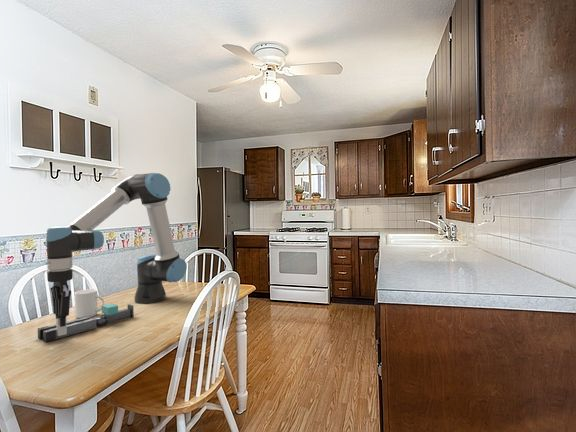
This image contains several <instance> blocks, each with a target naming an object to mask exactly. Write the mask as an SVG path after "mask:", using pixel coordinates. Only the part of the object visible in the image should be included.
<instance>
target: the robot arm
mask: <svg viewBox="0 0 576 432" xmlns="http://www.w3.org/2000/svg"><path fill="white" fill-rule="evenodd" d="M170 192H171V184H170V180H169V179H168V178H167V176H165V175H163V174H162V173H156V172H150V173H142V174H141V173H139V174H137V173H136V174H133V175H130V176H128V177H126V178H125V179H124V180H122V181H121V182H119V183H118V184H116V185H115V186H113V187H112V188H111V192H110V193H108V194H107V195H106V196H105V197H103V198H102V199H100V200H99V201H98V202H97V203H95V204H94V205H93V206H91V208H89V209H88V210H86V211H85V212H84V213H83V214H81V215H80V216H78V217H77V218H76V219H75V220H74V221H73V222H71V223H70V224H68V225H67V226H53V227H49V228H47V230H46V240H45V242H46V256H47V257H46V258H47V259H46V261H45V265H47V270H48V271H47V274H46V275H47V281H48V282H49V283H53V284H52V286H51V287H50V289H49V290H50V292H51V298H52V299H51V301H52V310H53V314H54V316H55V319H56V320H55V321H56V328H57V336H61V335H65V334H67V326H66V322H67V317H68V316H69V315H70V306H71V305H70V304H71V303H70V302H71V294H72V291H71V289H70V288H69V287H70V286H69V285H68V281H71V280H73V278H74V277H73V269H72V268H73V266H74V265H73V252H83V251H88V250H89V251H91V250H93V251H95V250H98V249H101V248H102V247H103V246H104V242H105V236H104V234H103V232H101V231H100V230H95V229H96V228H97V227H99V225H101V224H102V223H103V222H104V221H105V220H107V219H108V218H109V217H110V216H111V215H113V214H114V213H115V212H116V211H118V210H119V209H120V208H121V207H122V206H123V205H128V204H129V203H131V202H132V201H135V200H138V199H140V201H141V205H143V206H144V207H145V208H146V212H147V216H148V221H149V225H150V230H151V234H152V239H153V243H154V248H155V252H156V254H149V255H143V256H139V257H138V258H137V264H136V266H137V268H136V270H137V288H136V291H135V294H134V298H133V299H134V303H137V304H152V303H158V302H162V301H164V300H166V298H167V293H166V290H165V288H164V285H163V282H168V283H177V282H180V281H181V280H182V279H183V278H184V276H185V274H187V273H186V272H187V268H188V267H187V262H186V261H185V260H184V259H183V258H181V257H180V253H179V251H178V250H176V249H175V243H174V239H173V236H172V235H173V234H172V230H171V225H170V222H169V221H170V220H169V216H168V211H167V205H166V203H167V201H168V197H169V195H170ZM69 289H70V290H69Z"/></svg>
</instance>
